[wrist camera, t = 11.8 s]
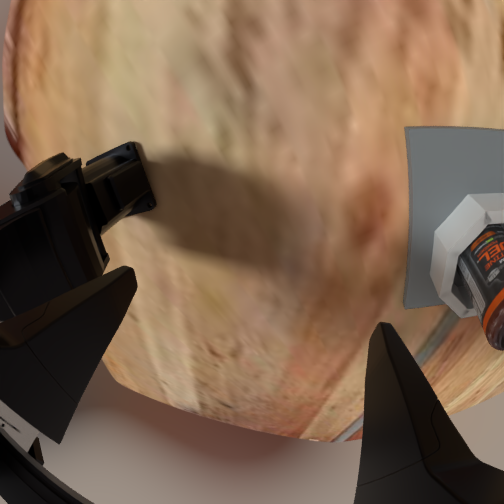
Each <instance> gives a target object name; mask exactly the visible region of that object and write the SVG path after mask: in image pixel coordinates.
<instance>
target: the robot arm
mask: <svg viewBox="0 0 504 504" xmlns="http://www.w3.org/2000/svg"><path fill="white" fill-rule="evenodd" d="M129 146H130V148H131V149H129ZM81 165H82V162H81V158H77V159H70V157H69V158H68V157H67V156H66V155H65V154H64V152H63V153H59V154H57V155H55V156H52V157H50V158H48V159H46V160H44V161H42V162H41V163H39V164H38V165H36V166H35V167H34V168H32V169H31V170H29V171H28V172H27V173H26V174H25V176H24V179H23V180H22V181H21V182H20V183H19V184H18V185H17V186H16V187H15V188H14V189H13V190H12V191H11V192H10V194H9V195H10V199H11V200H9V201H8V202H6V203H4V204H3V205H1V206H0V322H1V323H0V495H1V497H2V498H3V499H4V500H5V501H6V502H7V503H8V504H94V503H92V502H91V501H89V500H88V499H86V498H84V497H83V496H82V495H80V494H78V493H77V492H76V491H74V490H72V489H71V488H70V487H68V486H67V485H66V484H64V483H63V482H61V481H60V480H59V479H58V478H57V477H55V476H54V475H53V474H51V473H50V472H49V471H48V470H46V469H45V468H44V467H43V464H44V460H43V456H42V452H41V447H40V443H39V438H38V437H37V435H38V433H39V431H40V432H41V433H43V434H44V435H46V436H47V437H49V438H50V439H52V440H53V441H55V442H56V443H58V444H60V443H61V441H62V439H63V436H64V434H65V432H66V430H67V427H68V425H69V423H70V420H71V419H72V416H73V414H74V412H75V410H76V408H77V406H78V403H79V401H80V399H81V397H82V395H83V393H84V390H85V389H86V387H87V385H88V383H89V381H90V379H91V377H92V375H93V373H94V371H95V369H96V368H97V366H98V364H99V362H100V360H101V358H102V356H103V355H104V353H105V351H106V349H107V347H108V345H109V344H110V342H111V340H112V338H113V336H114V335H115V333H116V331H117V329H118V328H119V326H120V324H121V322H122V320H123V318H124V316H125V314H126V312H127V310H128V307H129V305H130V303H131V301H132V299H133V297H134V295H135V293H136V290H137V280H136V276H135V272H134V269H133V268H131V267H128V266H121V267H119V268H117V269H115V270H113V271H111V272H108V273H106V274H104V275H103V273H104V270H105V268H106V266H107V264H108V262H109V260H110V258H109V255H108V253H106V250H105V247H104V244H103V242H102V239H101V236H102V235H103V234H104V233H105V232H106V231H107V230H109V229H110V228H111V227H112V226H113V225H115V224H116V223H117V222H118V221H119V220H121V219H122V218H123V217H125V216H129V215H133V214H137V213H142V212H146V211H150V210H153V209H154V208H155V207H156V201H155V199H154V196H153V193H152V191H151V188H150V185H149V183H148V180H147V177H146V175H145V172H144V169H143V166H142V163H141V161H140V158H139V155H138V152H137V149H136V146H135V144H134V143H133V142H131V141H130V142H127V143H125V144H123V145H120V146H118V147H116V148H114V149H112V150H110V151H107V152H105V153H103V154H101V155H99V156H97V157H95V158H93V159H91V160H89V161H87V163H86V167H84V168H81ZM149 203H151V205H152V206H151V205H150V204H149ZM437 399H438V398H437V396H436V394H435V392H434V391H433V389H432V387H431V386H430V384H429V382H428V381H427V379H426V377H425V376H424V374H423V372H422V371H421V369H420V368H419V366H418V364H417V363H416V361H415V360H414V358H413V356H412V355H411V353H410V352H409V350H408V349H407V347H406V346H405V344H404V342H403V341H402V339H401V338H400V336H399V335H398V333H397V332H396V330H395V329H394V327H393V326H392V325H391V324H390V323H385V322H379V323H378V325H377V327H376V328H375V330H374V332H373V334H372V336H371V338H370V341H369V349H368V359H367V368H366V377H365V398H364V421H363V435H362V447H361V457H360V466H359V474H358V481H357V486H358V487H356V493H355V500H354V504H504V471H503V470H500V469H497V468H495V467H493V466H490V465H488V464H486V463H483V462H482V461H480V460H479V459H478V458H476V457H475V456H474V454H473V453H472V452H471V450H470V449H469V447H468V446H467V444H466V443H465V441H464V439H463V438H462V436H461V435H460V433H459V432H458V430H457V429H456V427H455V426H454V424H453V423H452V421H451V420H450V418H449V416H448V415H447V413H446V411H445V410H444V408H443V406H442V404H441V403H440V401H439V400H437Z"/></svg>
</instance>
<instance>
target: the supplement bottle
mask: <svg viewBox="0 0 504 504" xmlns="http://www.w3.org/2000/svg"><path fill="white" fill-rule="evenodd" d="M456 269H457V272H458V274H459V276H460V278H461V280H462V282H463V284H464V286H465V288H466V290H467V292H468V294H469V297H470V299H471V301H472V303H473V305H474V308H475V310H476V312H477V315H478V317H479V320H480V322H481V325H482V327H483V329H484V332H485V335H486V338H487V340H488V342H489V344H490V345H491V346H492V347H493V348H495V349H497V350H502V351H503V350H504V227H503V226H502V225H501V224H500V223H498V224H488V225H487V226H486V227H485V228H484V230H483V231H482V232H481V233H480V234H479V235H478V236H477V237H476V238H475V239H474V240H473V241H472V243H471V244H470V245H469V246H468V247H467V248H466V249H465V250H464V251H463V252H462V253H461V254H460V255H459V256H458V261H457V266H456Z"/></svg>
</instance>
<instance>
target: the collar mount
mask: <svg viewBox="0 0 504 504" xmlns="http://www.w3.org/2000/svg"><path fill="white" fill-rule="evenodd" d="M404 128H405V137H406V147H407V159H408V175H409V241H408V257H407V270H406V280H405V289H404V297H403V305H404V309H412V308H421V307H428V306H436V305H443V304H447V305H448V306H449V307H450V308H451V309H452V310H453V311H454V312H455V313H456V314H457V315H458V316H459V317H460V318H466V317H472V316H477V312H476V310H475V308H474V305H473V303H472V301H471V299H470V297H469V294H468V292H467V290H466V288H465V286H464V284H463V282H462V280H461V278H460V276H459V274H458V272H457V269H456V266H457V261H458V256H459V255H460V254H461V253H462V252H463V251H464V250H465V249H466V248H467V247H468V246H469V245H470V244H471V243H472V241H473V240H474V239H475V238H476V237H477V236H478V235H479V234H480V233H481V232H482V231H483V230H484V228H485V227H486V226H487V225H488V224H498V223H500V224H501V225H502V226H503V227H504V130H502V129H492V128H478V127H456V126H413V127H404Z"/></svg>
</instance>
